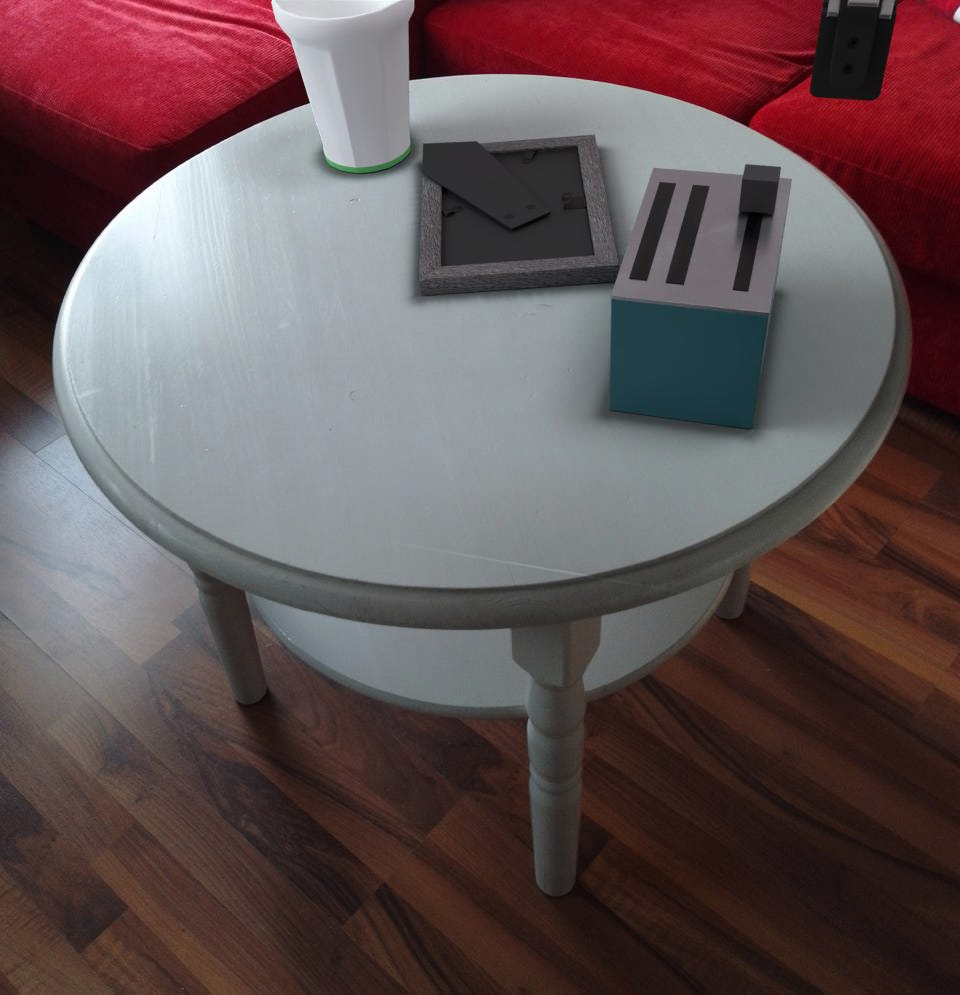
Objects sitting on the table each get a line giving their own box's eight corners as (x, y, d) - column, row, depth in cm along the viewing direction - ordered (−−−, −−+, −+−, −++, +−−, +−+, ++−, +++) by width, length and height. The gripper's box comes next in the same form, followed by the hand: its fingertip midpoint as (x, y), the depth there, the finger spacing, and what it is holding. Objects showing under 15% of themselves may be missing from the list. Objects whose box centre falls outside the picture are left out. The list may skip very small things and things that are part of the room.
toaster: (774, 292, 86) (792, 177, 78) (751, 429, 75) (769, 311, 68) (648, 279, 88) (653, 166, 81) (608, 410, 78) (610, 294, 70)
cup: (355, 109, 111) (329, -48, 100) (456, 135, 106) (441, -28, 95) (277, 166, 105) (241, 5, 94) (382, 197, 99) (356, 30, 88)
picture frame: (425, 162, 103) (421, 295, 89) (423, 143, 102) (418, 275, 87) (594, 149, 102) (618, 281, 88) (594, 130, 101) (618, 260, 87)
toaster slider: (776, 198, 76) (781, 166, 75) (773, 214, 75) (778, 181, 73) (741, 195, 77) (745, 163, 75) (738, 211, 76) (742, 178, 74)
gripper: (1062, -366, 33) (926, 180, 46) (1035, -442, 43) (928, 27, 56) (806, -357, 35) (746, 166, 48) (835, -432, 44) (778, 20, 58)
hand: (844, 90), depth 52 cm, fingers closed
